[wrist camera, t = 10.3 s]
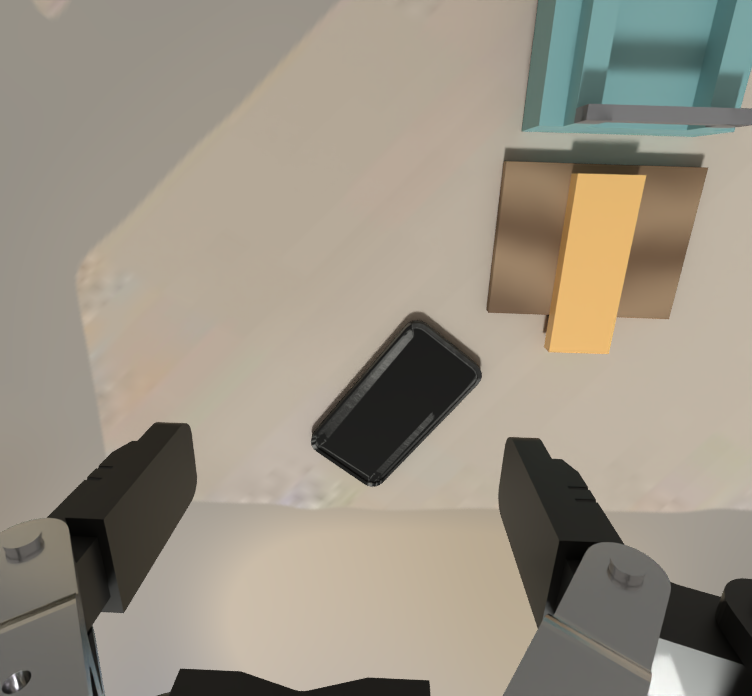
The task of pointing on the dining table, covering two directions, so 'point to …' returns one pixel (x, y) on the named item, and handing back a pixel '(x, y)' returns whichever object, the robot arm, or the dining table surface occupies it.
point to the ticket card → (592, 261)
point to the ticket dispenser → (639, 67)
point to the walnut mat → (545, 225)
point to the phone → (396, 404)
